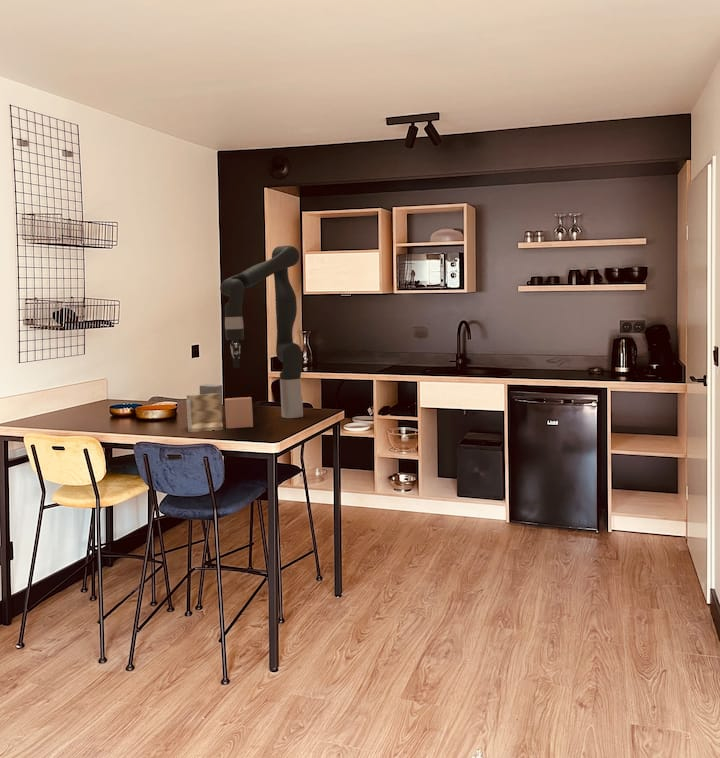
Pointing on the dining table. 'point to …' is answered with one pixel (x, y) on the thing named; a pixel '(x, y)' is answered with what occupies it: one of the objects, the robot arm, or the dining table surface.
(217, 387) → the skincare box
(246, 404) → the terracotta book
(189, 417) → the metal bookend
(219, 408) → the plywood shelf
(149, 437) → the dining table surface
